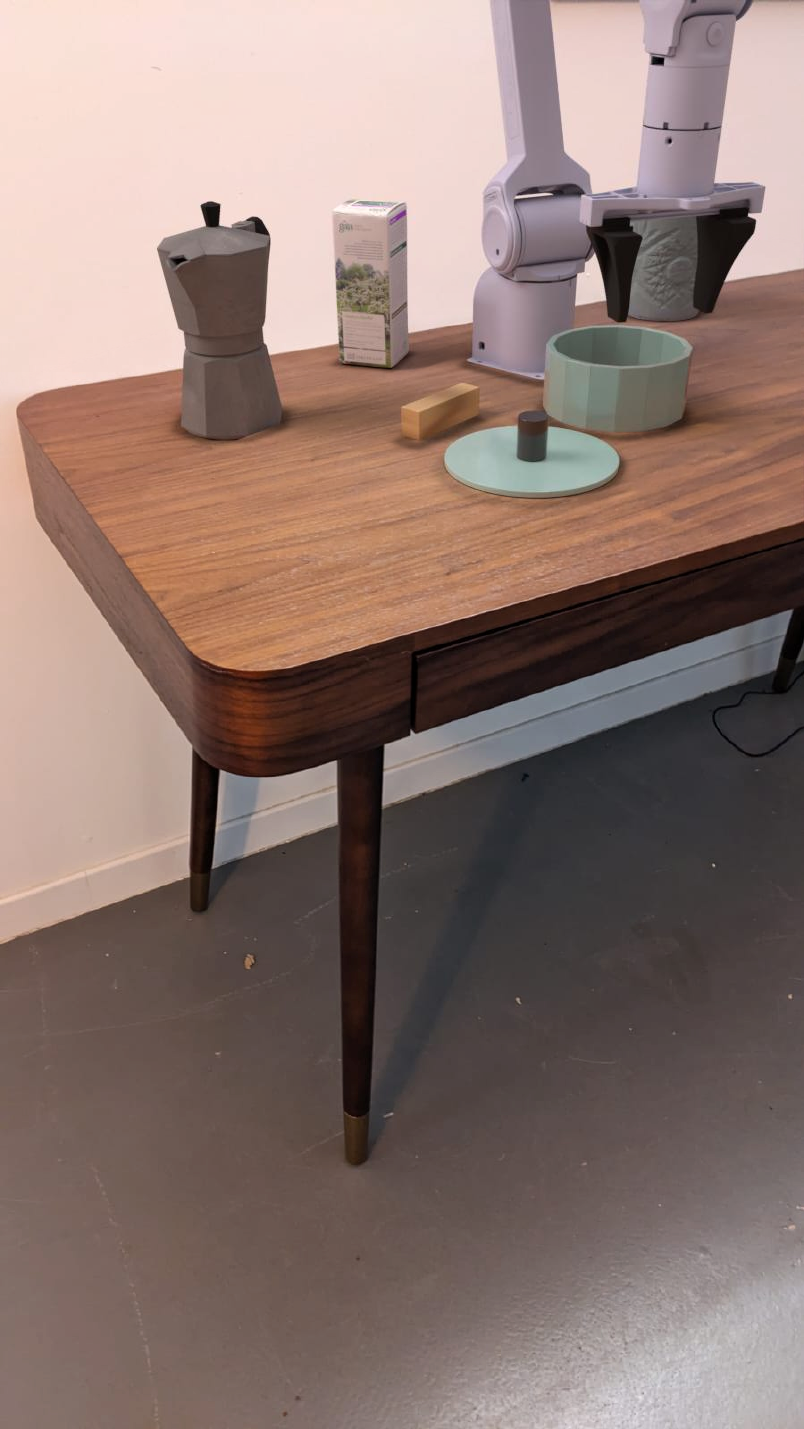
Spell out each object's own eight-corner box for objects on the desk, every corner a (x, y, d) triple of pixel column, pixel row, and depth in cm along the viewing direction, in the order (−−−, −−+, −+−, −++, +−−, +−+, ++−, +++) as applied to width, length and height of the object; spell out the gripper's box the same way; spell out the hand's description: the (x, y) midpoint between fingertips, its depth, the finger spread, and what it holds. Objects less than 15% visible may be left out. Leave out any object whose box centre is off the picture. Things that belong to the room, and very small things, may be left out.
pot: (516, 416, 99) (519, 348, 96) (593, 381, 107) (598, 317, 103) (634, 449, 93) (642, 377, 89) (708, 409, 100) (718, 342, 97)
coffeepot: (244, 455, 93) (221, 222, 83) (147, 441, 96) (112, 214, 85) (323, 395, 105) (311, 185, 94) (233, 384, 107) (213, 179, 97)
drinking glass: (684, 328, 121) (699, 207, 114) (597, 315, 125) (607, 198, 118) (717, 305, 127) (733, 191, 121) (634, 294, 132) (645, 183, 125)
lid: (408, 474, 89) (407, 420, 87) (513, 425, 98) (515, 375, 95) (551, 521, 82) (555, 464, 79) (651, 465, 90) (657, 411, 87)
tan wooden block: (419, 446, 94) (419, 412, 92) (401, 441, 95) (401, 406, 93) (478, 420, 99) (479, 386, 97) (461, 415, 100) (461, 382, 98)
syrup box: (410, 352, 115) (408, 199, 107) (391, 370, 110) (388, 211, 102) (358, 348, 116) (352, 196, 108) (337, 365, 112) (329, 208, 104)
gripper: (615, 138, 78) (598, 337, 85) (799, 127, 81) (766, 319, 89) (574, 125, 83) (561, 313, 91) (747, 115, 87) (721, 296, 94)
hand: (660, 314), depth 90 cm, fingers open, 7 cm apart
